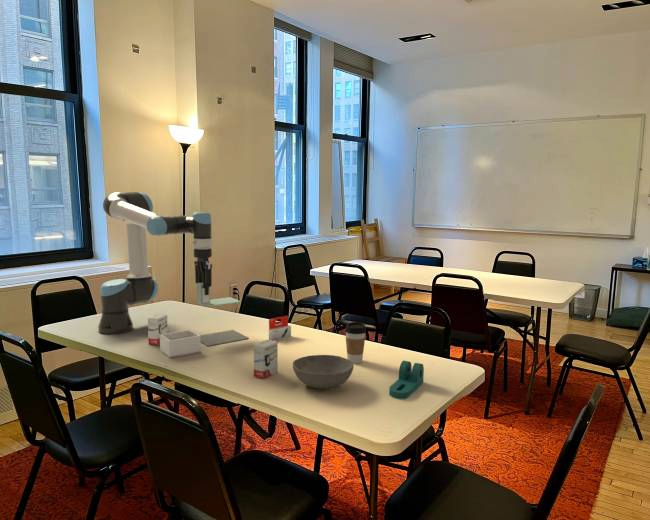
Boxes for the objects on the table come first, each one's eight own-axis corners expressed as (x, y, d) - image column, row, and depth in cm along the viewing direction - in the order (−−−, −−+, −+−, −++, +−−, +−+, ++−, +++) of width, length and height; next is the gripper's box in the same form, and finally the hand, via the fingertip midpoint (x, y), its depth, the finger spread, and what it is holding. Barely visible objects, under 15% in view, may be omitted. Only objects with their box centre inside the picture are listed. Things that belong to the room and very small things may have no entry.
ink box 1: (158, 345, 212) (157, 318, 211) (148, 344, 213) (147, 317, 211) (168, 339, 221) (167, 313, 219) (158, 338, 222) (157, 313, 220)
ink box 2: (263, 379, 176) (263, 347, 174) (252, 376, 179) (252, 344, 177) (278, 372, 183) (278, 341, 182) (267, 369, 186) (267, 339, 184)
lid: (194, 304, 220) (194, 281, 219) (230, 299, 230) (229, 278, 229) (204, 309, 212) (204, 285, 210) (240, 304, 222) (240, 281, 221)
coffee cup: (367, 359, 199) (368, 323, 197) (362, 366, 191) (363, 328, 189) (347, 356, 202) (348, 320, 199) (341, 363, 194) (342, 326, 192)
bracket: (405, 379, 179) (405, 358, 178) (423, 382, 176) (424, 361, 175) (386, 396, 163) (386, 373, 162) (405, 401, 160) (406, 377, 159)
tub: (160, 350, 205) (159, 334, 204) (190, 345, 213) (190, 329, 212) (169, 358, 196) (169, 341, 195) (200, 352, 204) (200, 335, 203)
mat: (193, 337, 224) (192, 336, 224) (233, 330, 236) (233, 329, 236) (207, 346, 212) (207, 345, 212) (249, 338, 224) (249, 337, 224)
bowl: (281, 391, 166) (282, 368, 165) (305, 370, 185) (305, 350, 184) (342, 401, 158) (342, 377, 157) (360, 378, 178) (360, 357, 177)
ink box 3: (291, 336, 228) (291, 316, 227) (271, 341, 221) (271, 320, 219) (288, 335, 230) (288, 315, 229) (268, 340, 223) (268, 319, 221)
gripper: (186, 246, 218) (187, 298, 221) (202, 250, 204) (203, 306, 208) (202, 245, 222) (203, 296, 226) (219, 249, 209) (220, 303, 212)
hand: (203, 301), depth 217 cm, fingers closed on lid, 4 cm apart
